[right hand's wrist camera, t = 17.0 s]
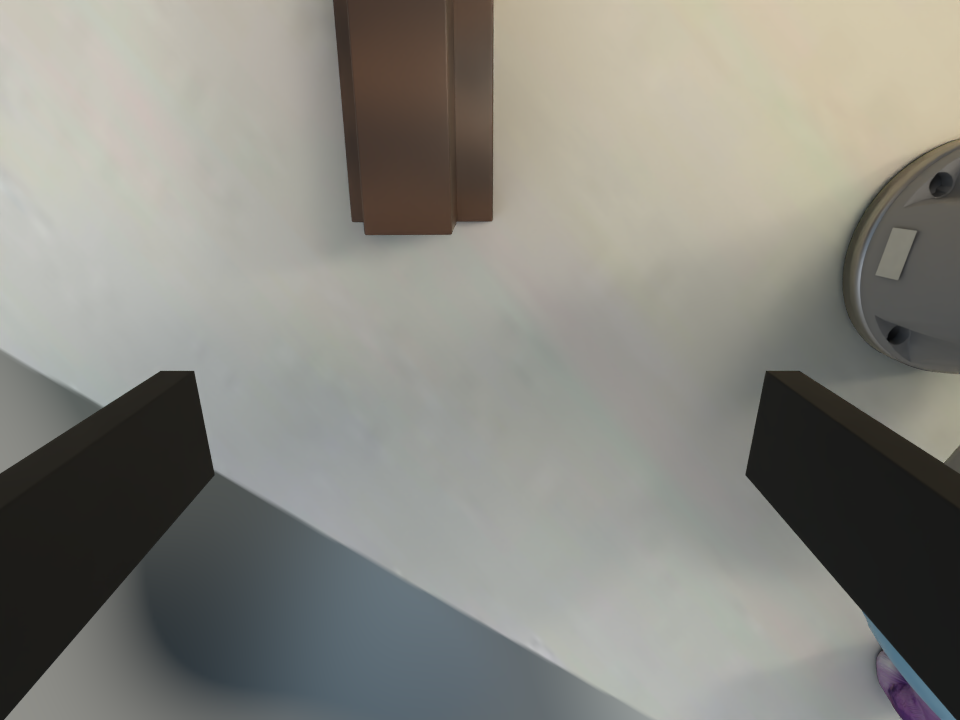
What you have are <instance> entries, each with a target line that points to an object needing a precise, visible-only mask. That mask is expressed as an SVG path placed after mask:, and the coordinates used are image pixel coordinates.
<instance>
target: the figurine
mask: <svg viewBox="0 0 960 720" xmlns="http://www.w3.org/2000/svg"><path fill="white" fill-rule="evenodd" d="M876 659H877V661H876V666H877V668H876V669H877V676H878V680H879V683H880V685H881V687H882V688H883V690H884V692H885V693H886V695H887V697H888V698H889V700H890V702H891V703H892V705H893V707H894V708H895V710H896V712H897V713H898V714H899V716H900V717H901V718H902V720H941V719H940V718H939V717H938V716H937V715H936V714H935V713H934V712H933V711H932V710H931V708H930V707H929V706H928V705H927V704H926V703H925V702H924V701H923V700H922V699H921V697H920V696H919V695H918V694H917V693H916V692H915V690H914V689H913V688H912V687H911V686H910V685H909V683H908V682H907V681H906V680H905V678H904V677H903V676H902V675H901V673H900V672H899V671H898V670H897V668H896V667H895V666H894V664H893V663H892V662H891V660H890V659H889V657H888V656H887V655H886V653H885V652H884V650H883V651H881V652H880V653H879V655H878V657H877V658H876Z"/></svg>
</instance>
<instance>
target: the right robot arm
mask: <svg viewBox="0 0 960 720" xmlns="http://www.w3.org/2000/svg"><path fill="white" fill-rule="evenodd" d="M843 295H844V301H845V305H846V309H847V312H848V315H849V317H850V320H851V321H852V323H853V325H854V327H855V329H856V330H857V331H858V333H859V334H860V335H861V337H862V338H863V339H864V340H865V341H866V342H867V343H868V344H870V345H871V346H872V347H873V348H875V349H876V350H878V351H879V352H881V353H883V354H885V355H887V356H889V357H891V358H893V359H895V360H897V361H900V362H902V363H904V364H906V365H909V366H911V367H914V368H918V369H922V370H926V371H933V372H941V373H953V374H960V139H958V140H955V141H952V142H949V143H947V144H944V145H942V146H940V147H938V148H936V149H934V150H932V151H930V152H928V153H926V154H925V155H923V156H921V157H920V158H918V159H917V160H915V161H914V162H912V163H911V164H910V165H908V166H907V167H906V168H904V169H903V170H902V171H901V172H900V173H898V174H897V175H896V176H895V177H894V178H893V179H892V180H891V181H890V182H889V183H888V184H887V185H886V186H885V187H884V188H883V189H882V190H881V191H880V193H879V194H878V195H877V196H876V197H875V199H874V200H873V201H872V203H871V204H870V205H869V207H868V208H867V210H866V211H865V213H864V215H863V216H862V218H861V220H860V221H859V223H858V225H857V227H856V229H855V232H854V234H853V236H852V239H851V241H850V244H849V247H848V250H847V254H846V258H845V263H844V269H843ZM213 476H214V470H213V464H212V459H211V454H210V449H209V444H208V439H207V434H206V429H205V424H204V419H203V414H202V409H201V404H200V399H199V394H198V389H197V383H196V378H195V373H194V371H160V372H158V373H157V374H155V375H154V376H152V377H150V378H149V379H147V380H146V381H144V382H143V383H141V384H140V385H138V386H136V387H135V388H133V389H132V390H130V391H129V392H127V393H125V394H124V395H122V396H121V397H119V398H118V399H116V400H115V401H113V402H111V403H110V404H108V405H107V406H105V407H104V408H102V409H100V410H99V411H97V412H96V413H94V414H93V415H91V416H90V417H88V418H87V419H85V420H83V421H82V422H80V423H79V424H77V425H76V426H74V427H72V428H71V429H69V430H68V431H66V432H65V433H63V434H61V435H60V436H58V437H57V438H55V439H54V440H52V441H51V442H49V443H47V444H46V445H44V446H43V447H41V448H40V449H38V450H37V451H35V452H33V453H32V454H30V455H29V456H27V457H26V458H24V459H22V460H21V461H19V462H18V463H16V464H15V465H13V466H12V467H10V468H8V469H7V470H5V471H4V472H2V473H1V474H0V720H4V719H5V718H6V717H7V716H8V714H9V713H10V712H11V711H12V710H13V709H14V708H15V706H16V705H17V704H18V703H19V702H20V701H21V699H22V698H23V697H24V696H25V695H26V694H27V692H28V691H29V690H30V689H31V688H32V687H33V685H34V684H35V683H36V682H37V681H38V680H39V678H40V677H41V676H42V675H43V674H44V673H45V671H46V670H47V669H48V668H49V667H50V666H51V664H52V663H53V662H54V661H55V660H56V659H57V658H58V656H59V655H60V654H61V653H62V652H63V651H64V649H65V648H66V647H67V646H68V645H69V644H70V642H71V641H72V640H73V639H74V638H75V637H76V635H77V634H78V633H79V632H80V631H81V630H82V628H83V627H84V626H85V625H86V624H87V623H88V621H89V620H90V619H91V618H92V617H93V616H94V614H95V613H96V612H97V611H98V610H99V609H100V608H101V606H102V605H103V604H104V603H105V602H106V601H107V599H108V598H109V597H110V596H111V595H112V594H113V592H114V591H115V590H116V589H117V588H118V587H119V585H120V584H121V583H122V582H123V581H124V580H125V578H126V577H127V576H128V575H129V574H130V573H131V572H132V570H133V569H134V568H135V567H136V566H137V565H138V563H139V562H140V561H141V560H142V559H143V558H144V556H145V555H146V554H147V553H148V552H149V551H150V549H151V548H152V547H153V546H154V545H155V544H156V542H157V541H158V540H159V539H160V538H161V537H162V535H163V534H164V533H165V532H166V531H167V530H168V528H169V527H170V526H171V525H172V524H173V523H174V522H175V520H176V519H177V518H178V517H179V516H180V514H181V513H182V512H183V511H184V510H185V509H186V508H187V506H188V505H189V504H190V503H191V502H192V501H193V499H194V498H195V497H196V496H197V495H198V494H199V492H200V491H201V490H202V489H203V488H204V487H205V485H206V484H207V483H208V482H209V481H210V480H211V479H212V477H213ZM746 476H747V477H748V479H749V480H750V481H751V482H752V483H753V484H754V485H755V487H756V488H757V489H758V490H759V491H760V492H761V494H762V495H763V496H764V497H765V498H766V499H767V501H768V502H769V503H770V504H771V505H772V506H773V508H774V509H775V510H776V511H777V512H778V513H779V515H780V516H781V517H782V518H783V519H784V520H785V522H786V523H787V524H788V525H789V526H790V527H791V528H792V530H793V531H794V532H795V533H796V534H797V535H798V537H799V538H800V539H801V540H802V541H803V542H804V544H805V545H806V546H807V547H808V548H809V549H810V551H811V552H812V553H813V554H814V555H815V556H816V558H817V559H818V560H819V561H820V562H821V563H822V565H823V566H824V567H825V568H826V569H827V570H828V572H829V573H830V574H831V575H832V576H833V577H834V578H835V580H836V581H837V582H838V583H839V584H840V585H841V587H842V588H843V589H844V590H845V591H846V592H847V594H848V595H849V596H850V597H851V598H852V599H853V601H854V602H855V603H856V604H857V605H858V606H859V608H860V609H861V610H862V612H863V614H864V616H865V617H866V620H867V622H868V626H869V628H870V629H871V631H872V633H873V635H874V636H875V638H876V639H877V641H878V643H879V644H880V646H881V647H882V649H883V650H884V652H885V653H886V655H887V656H888V657H889V659H890V660H891V662H892V663H893V664H894V666H895V667H896V668H897V670H898V671H899V672H900V673H901V675H902V676H903V677H904V678H905V680H906V681H907V682H908V683H909V685H910V686H911V687H912V688H913V689H914V690H915V692H916V693H917V694H918V695H919V696H920V697H921V699H922V700H923V701H924V702H925V703H926V704H927V705H928V706H929V707H930V708H931V710H932V711H933V712H934V713H935V714H936V715H937V716H938V717H939V718H940V719H941V720H960V445H959V447H958V448H957V449H956V450H955V451H954V452H953V453H952V455H951V456H950V457H949V458H948V459H947V460H946V461H945V463H942V462H941V461H939V460H938V459H936V458H934V457H933V456H931V455H930V454H928V453H927V452H925V451H924V450H922V449H920V448H919V447H917V446H916V445H914V444H913V443H911V442H909V441H908V440H906V439H905V438H903V437H902V436H900V435H899V434H897V433H895V432H894V431H892V430H891V429H889V428H888V427H886V426H884V425H883V424H881V423H880V422H878V421H877V420H875V419H874V418H872V417H870V416H869V415H867V414H866V413H864V412H863V411H861V410H860V409H858V408H856V407H855V406H853V405H852V404H850V403H849V402H847V401H845V400H844V399H842V398H841V397H839V396H838V395H836V394H835V393H833V392H831V391H830V390H828V389H827V388H825V387H824V386H822V385H820V384H819V383H817V382H816V381H814V380H813V379H811V378H810V377H808V376H806V375H805V374H803V373H802V372H800V371H766V373H765V378H764V383H763V389H762V394H761V399H760V404H759V409H758V414H757V419H756V424H755V429H754V434H753V439H752V444H751V449H750V454H749V459H748V464H747V470H746Z"/></svg>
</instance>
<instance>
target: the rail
mask: <svg viewBox="0 0 960 720" xmlns="http://www.w3.org/2000/svg"><path fill="white" fill-rule="evenodd" d="M333 4H334V16H335V28H336V40H337V51H338V63H339V75H340V87H341V99H342V111H343V122H344V134H345V146H346V158H347V170H348V182H349V194H350V205H351V217H352V222H364V232H365V235H450V234H452V232H453V229H454V227H455V225H456V222H459V221H492V220H493V0H333Z"/></svg>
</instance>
